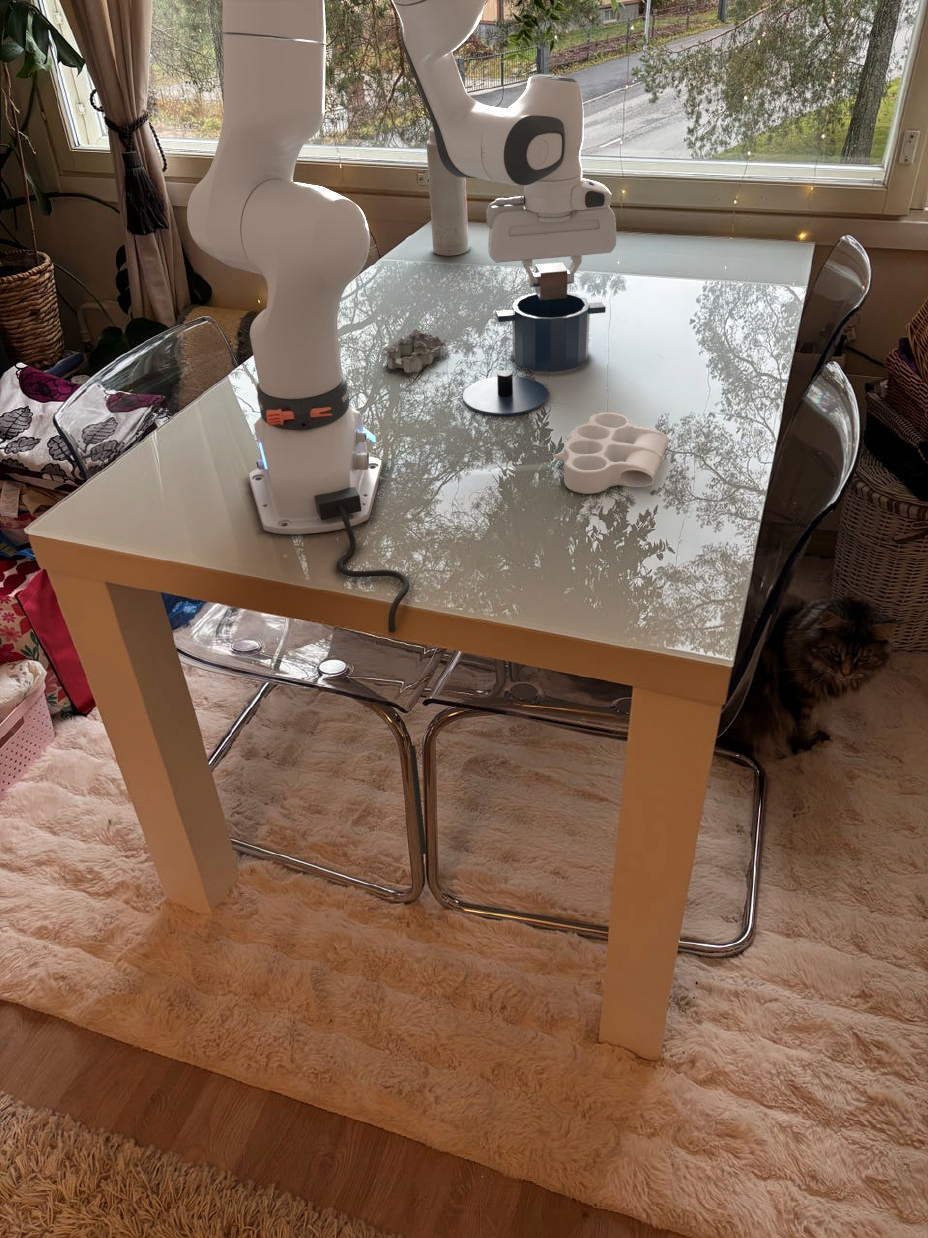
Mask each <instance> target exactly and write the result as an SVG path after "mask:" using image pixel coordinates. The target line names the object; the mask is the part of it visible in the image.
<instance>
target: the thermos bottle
mask: <svg viewBox="0 0 928 1238" xmlns="http://www.w3.org/2000/svg"><path fill="white" fill-rule="evenodd" d="M428 137H429V138H428V139H427V141H426V142H425V143H426V156H427V159H426V160H427V173H428V175H427V177H428V189H429V190H428V192H429V204H430V211H431V212H430V216H431V219H430V220H431V221H430V222H431V236H432V237H431V239H432V251H433V253H434V254H436V255H439V256H458V255H462V254H465V253H467V252H468V251H469V249H470V248H469V223H468V201H467V178H466V177H458V176H455V175H453V174H451V173H450V172H449V171H448V170H447V169H446V168H445V166H444V165H443V163H442V161H441V159H440V156H439V153H438V149H437V144H436V138H435V133H434V128H433V125H432V126H431V127H429V129H428Z"/></svg>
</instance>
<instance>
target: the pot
mask: <svg viewBox="0 0 928 1238" xmlns="http://www.w3.org/2000/svg"><path fill="white" fill-rule="evenodd" d="M606 308H607V307H606V305H605V303H604V302H603V301H597V302H596V301H595V302H589V300H588V299H587V298H585V297H583V296H582V295H579V294H577V293H572V292H568V291H567V298H563V299H552V300H540V299H539V297H538V295H537V293H536V292H533V293H529V294H525V295H522V296H520V297H519V298H516V299H515V300H514V302H513V304H512V305H511V309H508V310H507V309H505V310H496V311H495V318H496V320H497V322H498V323H505V322H512V324H511V325H512V326H511V327H512V328H511V331H512V359H513V361H514V363H515V364H516V365H518V366H519V367H521V368H522V369H525V370H530V371H533V372H543V373H557V372H566V371H569V370H573V369H577V368H579V367H580V366H582V365H583V364H585V363H586V362H587V359H588V357H589V342H590V341H589V340H590V339H589V338H590V337H589V336H590V316H591V315H595V314H605V313H606V311H607V310H606Z"/></svg>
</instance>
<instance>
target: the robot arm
mask: <svg viewBox="0 0 928 1238" xmlns="http://www.w3.org/2000/svg"><path fill="white" fill-rule="evenodd" d="M391 2H392V4H393V5H394V7H395V9H396V12H397V14H398V17H399V20H400V25H399V32H400V33H399V34H400V42H401V45H402V49H403V51H404V55H405V58H406V60H407V63H408V66H409V69H410V71H411V73H412V76H413V78H414V82H415V83H416V86H417V89H418V91H419V93H420V96H421V98H422V101H423V104H424V106H425V108H426V111H427V114H428V115H429V118H430V121H431V124H432V126H433V128H434V133H435V138H436V144H437V149H438V153H439V156H440V159H441V161H442V163H443V165H444V166H445V168H446V169H447V170H448V171H449V172H450V173H451V174H453V175H455V176H458V177H466V179H479V180H485V181H490V182H494V183H500V184H505V185H506V184H507V185H511V186H519V187H521V186H523V196H522V195H521V196H513V197H508V198H507V197H506V198H504V197H500V198H495V200H494V201H492V202H491V203H490V204H488V206H487V208H486V212H485V219H486V220H485V221H486V225H487V227H488V228H489V231H488V241H487V243H488V245H487V246H488V247H487V250H488V255H489V257H490V259H492V261H493V262H494V263H510V262H512V263H513V262H521V265H522V266H523V269H524V270H525V272H526V273H527V275H528V286H529V288H535V287H538V286H539V276H538V274H537V273H536V272H532V269H531V268H530V267H533V261H535V260H545V259H557V258H568V257H569V258H570V260H571V263H570V265H569V267H568V268H567V271H568V274H567V285H569V284H570V285H571V284H574V283H575V274H576V272H577V271H578V269H579V268H580V265H582V261H583V259H582V258H583V256H593V255H600V254H601V255H603V254H611V253H612V252H613V251H614V250H615V248H616V247H617V221H616V216H615V215H616V214H615V212H614V211H613V209H612V208H611V207H610V206H611V204H612V200H613V198H612V197H613V196H612V193H611V192H610V190H609V188H607V186H605V184H603V183H600V182H599V181H595V180H591V179H587V178H583V167H582V162H581V150H582V147H583V143H584V124H585V123H584V100H583V94H582V89H581V85H580V83H579V82H578V81H577V80H576V79H575V78H573V77H570V76H562V75H555V74H554V75H552V74H544V73H537V74H533V75H531V76H529V78H528V79H527V85H526V89H525V90H524V92H523V93H522V95H521V96H520V97H519V98H518V99H517V100H515V102H514V103H512V104H511V105H509V106H507V107H508V108H504V107H498V106H490V105H486V104H484V103H482V102H479V101H478V100H476V99H475V98H472V97H471V96H470V94H469V93H468V92H467V90H466V87H465V84H464V82H463V79H462V76H461V74H460V70H459V68H458V65H457V62H456V59H455V56H454V54H453V52H454V51H456V50H457V49H458V48H459V47H460V46H461V45H462V44H463V43H465V42H466V40H467V39H468V38H469V37H470V36H471V35H472V34H473V32H474V31H475V29H476V28H477V26H478V24H479V23H480V21H481V18H482V16H483V12H484V9H485V4H486V0H391ZM222 33H223V34H222V50H223V52H222V53H223V112H222V113H223V114H222V121H221V122H222V123H221V128H220V133H219V138H218V142H217V146H216V149H215V153H214V157H213V159H212V162H211V165H210V167H209V169H208V171H207V172H206V174H205V176H204V177H203V178H202V179H201V180H200V181H199V182H198V183H197V184H196V185H195V187H193V190H192V191H191V193H190V196H189V199H188V203H187V208H186V221H187V227H188V230H189V233H190V236H191V238H192V240H193V241H194V243H195V244H196V246H198V248H199V249H200V250H202V251H203V252H204V253H206V254H207V255H209V256H211V257H212V258H213V259H215V260H217V261H219V262H221V263H222V264H224V265H226V266H227V267H230V268H234V269H238V270H242V271H246V272H249V273H253V274H258V275H261V276H263V278H264V280H265V283H266V286H267V287H266V288H267V300H266V301H267V302H266V308H264V309H262V311H261V312H260V313H258V314H257V316H256V317H255V318H254V319H253V321H252V322H251V325H250V329H249V338H250V339H249V340H250V344H251V349H252V355H253V360H254V365H255V369H256V375H257V380H258V383H257V385H256V393H257V394H256V395H257V396H256V398H257V405H258V406H259V411H260V417H259V418H258V419H257V420H256V422H254V424H253V427H254V431H255V437H256V442H257V447H258V452H259V457H260V459H256V462H255V463H256V467H257V468H256V469H254V470H252V471H250V472H249V474H248V482H249V485H250V488H251V492H252V496H253V499H254V503H255V506H256V509H257V512H258V516H259V519H260V523H261V526H262V529H263V531H265V532H267V533H268V532H269V533H273V534H279V535H307V534H318V533H327V532H332V531H339V530H343V529H345V531H346V534H347V537H348V541H349V547H348V550H347V551H346V553H345V554H344V555H342V557H340V558H339V560H338V561H337V563H336V568H337V570H338V572H340V573H341V575H344V576H347V577H351V578H370V577H390V578H395V579H398V580H399V581H400V582H401V583H402V588H401V590H400V591H399V592H398V593H397V595H396V597H395V598H394V600H393V601H392V603H391V606H390V608H389V612H388V619H387V625H388V632H389V633H391V634H393V633H395V632H396V613H397V610H398V607H399V606H400V604H401V602H402V601H403V600H404V598H405V596H407V594H408V592H409V590H410V586H411V585H410V581H409V579H408V578H407V577H406V576H405V575H404V574H403V573H401V572H399V571H396V570H393V569H371V570H352V569H348V568H346V567H345V566H344V564H346V563H347V561H349V560H350V558H352V556H353V555H354V553H355V550H356V545H357V542H356V537H355V533H354V531H353V528H352V527H354V526H357V525H360V524H362V523H364V522H367V521H368V520H369V519H370V516H371V512H372V510H373V505H374V502H375V499H376V495H377V492H378V488H379V484H380V479H381V478H380V476H381V473H382V468H383V462H382V459H380V458H377V457H374V456H370V455H369V452H368V447H367V438H368V439H369V440H370V441H372V443H376V442H377V438H376V435H374V434H373V433H372V432H370V431H369V430H368V429H367V428H365V426H364V419H363V415H362V413H361V412H359V411H358V410H356V409H355V408H354V407H353V406H352V405H351V403H350V395H349V393H350V389H349V384H348V382H347V376H346V374H345V373H344V372H343V370H342V360H341V350H340V341H339V330H338V327H339V326H338V317H339V310H340V304H341V300H342V297H343V294H344V292H345V290H346V288H347V287H348V286H349V284H350V283H352V282H353V281H354V280H355V279H356V278H357V277H358V276H359V275H360V274H361V272H362V270H363V269H364V267H365V265H366V262H367V260H368V256H369V254H370V253H369V252H370V245H371V235H370V228H369V224H368V221H367V218H366V216H365V214H364V212H363V210H362V209H361V208H360V206H359V205H358V204H357V203H356V202H355V201H352V200H351V199H349V198H347V197H345V196H343V195H341V194H339V193H338V192H335V191H333V190H330V189H328V188H326V187H324V186H320V185H314V184H309V183H303V182H297V181H294V174H295V168H296V165H297V160H298V158H299V156H300V152H301V151H302V148H303V146H304V145H305V144H306V142H307V141H309V140H310V139H311V138H313V137H314V136H315V135H316V134H317V133H318V132H319V131H320V129H321V128H322V125H323V123H324V119H325V110H326V109H325V108H326V107H325V105H326V104H325V103H326V101H325V99H326V13H325V0H222ZM408 749H409V758H410V766H411V767H410V768H411V776H412V784H413V793H414V794H413V795H414V803H415V813H416V820H417V822H416V823H417V829H418V838H419V845H420V852H421V854H422V855H426V854H427V852H428V851H427V843H426V834H425V826H424V814H423V807H422V797H421V786H420V777H419V767H418V758H417V750H416V745H414V744H412V745H408Z"/></svg>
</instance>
